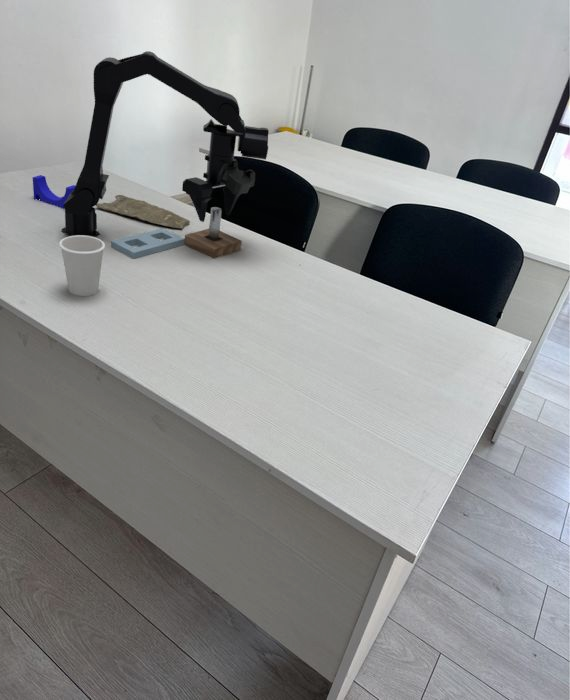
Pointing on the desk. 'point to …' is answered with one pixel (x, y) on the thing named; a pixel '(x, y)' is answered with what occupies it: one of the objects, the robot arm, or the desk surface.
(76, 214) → the robot arm
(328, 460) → the desk surface
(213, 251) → the socket block
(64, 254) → the dixie cup
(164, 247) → the block
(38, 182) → the blue semicircular cradle block
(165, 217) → the stone tool
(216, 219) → the grey cylindrical peg
